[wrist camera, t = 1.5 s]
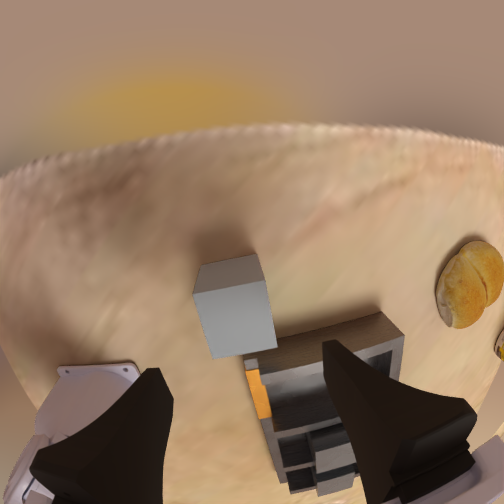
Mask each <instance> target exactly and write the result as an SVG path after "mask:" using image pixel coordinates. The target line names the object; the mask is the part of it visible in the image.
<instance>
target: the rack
mask: <svg viewBox="0 0 504 504" xmlns="http://www.w3.org/2000/svg"><path fill="white" fill-rule="evenodd" d="M404 336H405V335H404V334H403V333H402V332H401V331H400V330H399V329H398V328H397V327H396V326H395V325H394V324H393V323H392V322H391V321H390V320H389V319H388V317H387V316H386V315H385V314H384V313H383V312H379V313H376V314H373V315H369V316H366V317H362V318H359V319H356V320H352V321H348V322H345V323H341V324H337V325H334V326H330V327H326V328H322V329H318V330H314V331H310V332H306V333H302V334H297V335H293V336H288V337H284V338H279V339H276V341H277V346H278V347H277V348H272V349H267V350H262V351H257V352H252V353H247V354H243V357H244V363H245V373H246V376H247V380H248V383H249V387H250V390H251V394H252V397H253V401H254V404H255V407H256V411H257V414H258V418H259V419H260V420H261V423H262V427H263V430H264V433H265V437H266V440H267V443H268V446H269V450H270V453H271V456H272V459H273V462H274V466H275V469H276V472H277V475H278V478H279V481H280V484H281V483H286V482H288V485H289V490H290V494H294V493H299V492H304V491H308V490H313V489H316V491H317V495H318V497H319V496H323V495H327V494H331V493H334V492H338V491H341V490H344V489H348V488H351V487H352V485H353V480H354V478H355V477H358V476H360V473H359V469H358V466H357V462H356V459H355V455H354V452H353V449H352V446H351V443H350V440H349V437H348V435H347V432H346V430H345V428H344V425H343V423H342V421H341V419H340V417H339V415H338V413H337V411H336V408H335V406H334V404H333V402H332V400H331V398H330V395H329V392H328V389H327V386H326V383H325V380H324V376H323V354H322V342H325V341H329V340H333V339H336V340H338V341H339V342H340V343H341V344H343V345H344V346H345V347H346V348H347V349H349V350H350V351H351V352H352V353H354V354H355V355H356V356H358V357H359V358H360V359H362V360H363V361H364V362H366V363H367V364H369V365H370V366H372V367H373V368H375V369H376V370H378V371H380V372H381V373H383V374H385V375H386V376H388V377H390V378H392V379H394V380H396V381H399V374H400V368H401V361H402V354H403V346H404Z"/></svg>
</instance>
